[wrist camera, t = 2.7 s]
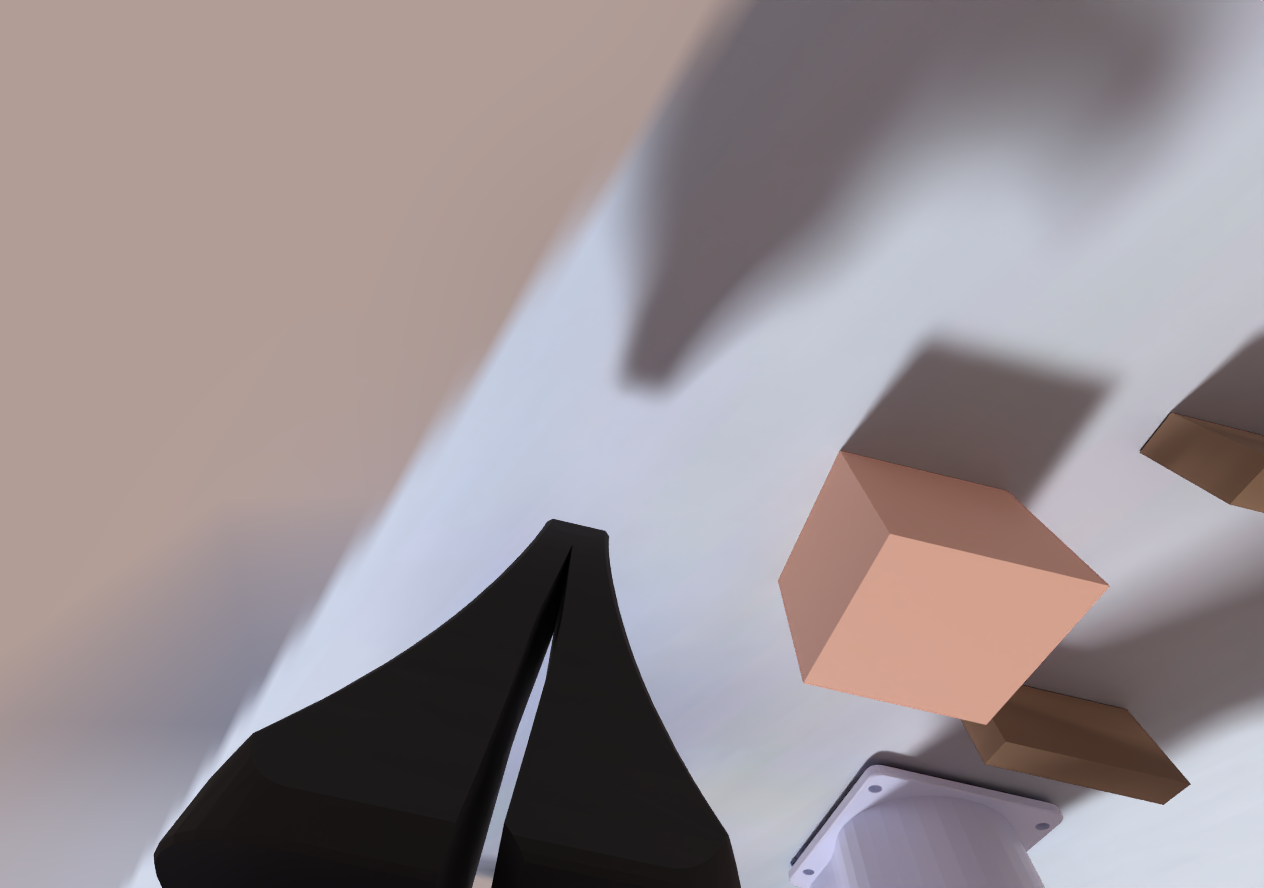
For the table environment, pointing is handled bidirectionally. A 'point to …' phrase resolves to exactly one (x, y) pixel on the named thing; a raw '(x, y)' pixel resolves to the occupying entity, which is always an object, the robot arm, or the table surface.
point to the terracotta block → (927, 590)
